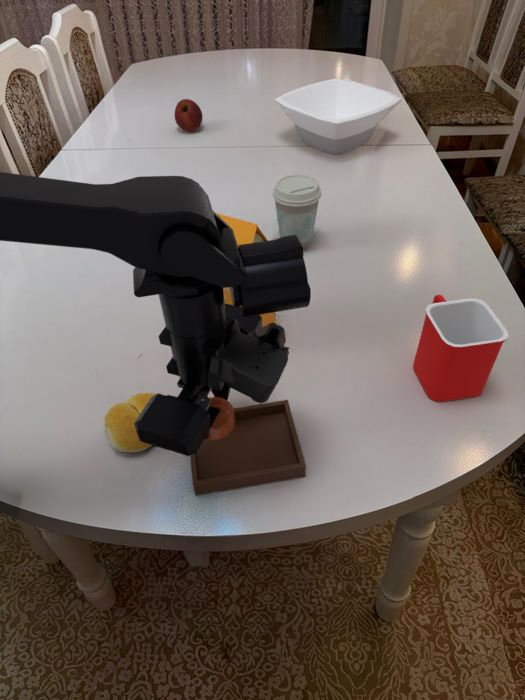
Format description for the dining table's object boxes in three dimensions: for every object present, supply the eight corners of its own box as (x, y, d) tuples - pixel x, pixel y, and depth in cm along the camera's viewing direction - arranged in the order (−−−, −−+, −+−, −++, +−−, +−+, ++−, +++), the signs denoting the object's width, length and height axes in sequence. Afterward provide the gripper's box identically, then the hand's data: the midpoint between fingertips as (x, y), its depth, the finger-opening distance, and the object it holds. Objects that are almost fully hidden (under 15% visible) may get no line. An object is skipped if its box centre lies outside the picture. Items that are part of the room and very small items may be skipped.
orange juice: (229, 307, 82) (217, 195, 68) (276, 324, 78) (273, 210, 64) (202, 336, 77) (182, 222, 63) (251, 356, 74) (241, 240, 60)
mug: (488, 396, 67) (514, 339, 59) (430, 405, 66) (448, 348, 58) (451, 336, 75) (468, 279, 68) (398, 343, 74) (410, 287, 67)
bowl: (335, 171, 115) (338, 126, 108) (267, 139, 129) (266, 97, 122) (404, 141, 125) (411, 98, 118) (334, 115, 140) (336, 75, 132)
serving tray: (195, 496, 58) (192, 486, 56) (189, 426, 65) (186, 415, 64) (305, 476, 59) (306, 466, 58) (287, 410, 66) (287, 399, 65)
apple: (171, 133, 134) (166, 102, 129) (185, 123, 139) (180, 92, 134) (195, 137, 132) (191, 105, 127) (208, 126, 137) (205, 95, 132)
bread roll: (186, 431, 65) (181, 413, 62) (121, 465, 61) (113, 447, 58) (159, 391, 70) (154, 372, 67) (98, 421, 66) (90, 402, 63)
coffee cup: (270, 254, 92) (268, 194, 84) (277, 230, 98) (276, 171, 90) (316, 257, 91) (319, 197, 83) (320, 232, 97) (323, 173, 88)
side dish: (195, 445, 56) (193, 433, 54) (192, 411, 59) (190, 400, 58) (237, 438, 56) (236, 426, 55) (232, 405, 60) (230, 393, 58)
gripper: (238, 416, 38) (249, 513, 49) (307, 275, 50) (303, 378, 61) (113, 381, 41) (150, 480, 52) (207, 257, 53) (221, 358, 64)
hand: (213, 419), depth 57 cm, fingers closed on side dish, 5 cm apart
